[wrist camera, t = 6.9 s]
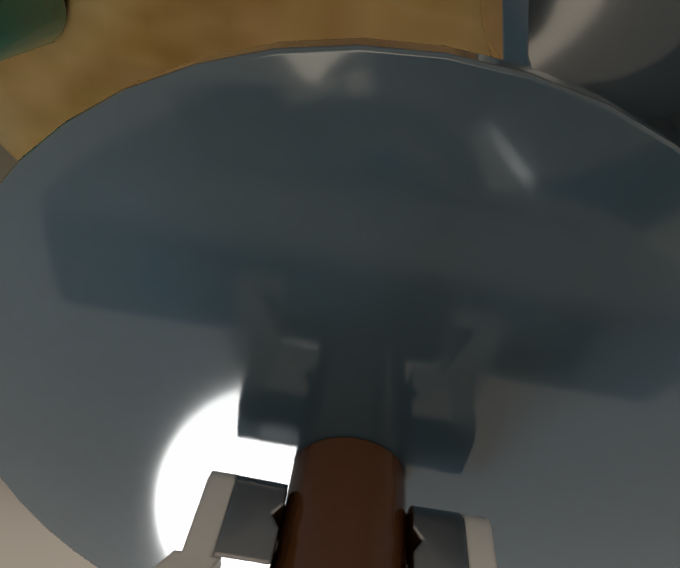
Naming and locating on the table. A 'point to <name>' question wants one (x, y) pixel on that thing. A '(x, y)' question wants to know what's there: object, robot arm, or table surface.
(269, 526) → the robot arm
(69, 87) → the table surface
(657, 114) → the canister
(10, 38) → the green bottle
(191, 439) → the lid
